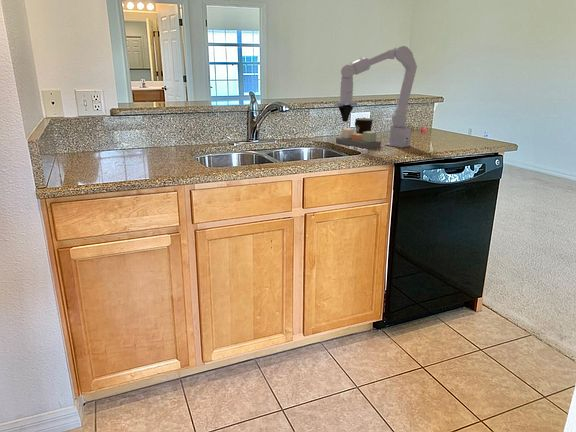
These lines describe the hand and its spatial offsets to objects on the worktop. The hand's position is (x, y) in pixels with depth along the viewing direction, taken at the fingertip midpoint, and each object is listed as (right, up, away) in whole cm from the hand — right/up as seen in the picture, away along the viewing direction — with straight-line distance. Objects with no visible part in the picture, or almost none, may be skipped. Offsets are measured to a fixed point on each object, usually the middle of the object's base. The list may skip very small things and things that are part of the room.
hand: (345, 121), depth 211 cm
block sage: (+10, -10, -6) cm, 16 cm away
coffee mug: (+11, -5, +17) cm, 21 cm away
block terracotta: (+6, -11, 0) cm, 12 cm away
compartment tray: (+6, -11, 0) cm, 13 cm away
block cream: (+2, -7, +4) cm, 8 cm away
